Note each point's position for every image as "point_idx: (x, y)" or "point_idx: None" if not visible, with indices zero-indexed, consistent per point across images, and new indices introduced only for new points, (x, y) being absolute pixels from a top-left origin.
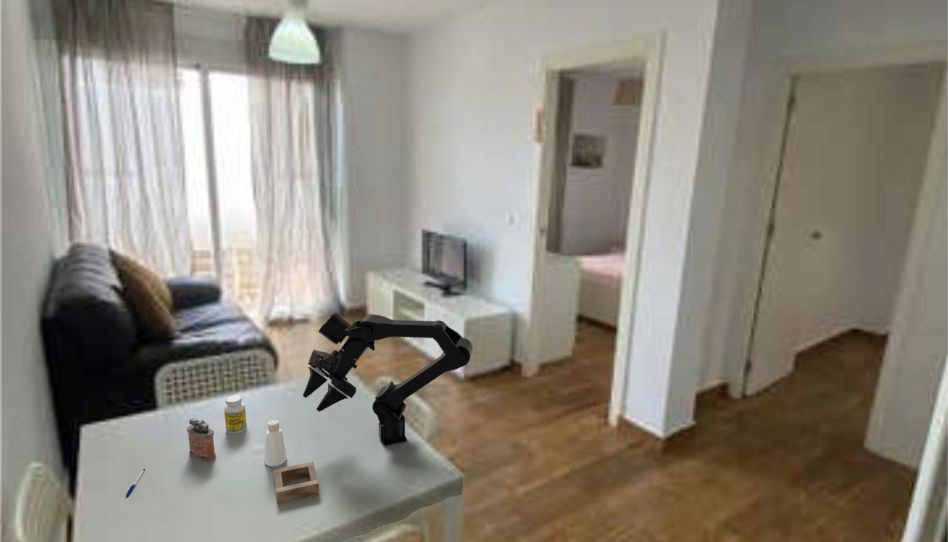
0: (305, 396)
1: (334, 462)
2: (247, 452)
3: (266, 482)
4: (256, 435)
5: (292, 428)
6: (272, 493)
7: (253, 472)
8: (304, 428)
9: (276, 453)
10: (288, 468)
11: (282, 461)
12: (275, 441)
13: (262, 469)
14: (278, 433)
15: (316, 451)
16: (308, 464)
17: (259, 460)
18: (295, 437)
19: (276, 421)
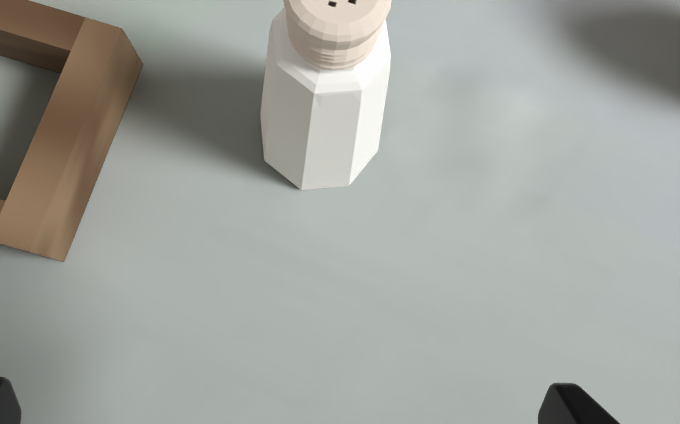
0: (547, 417)
1: (71, 412)
2: (493, 49)
3: (157, 28)
4: (644, 145)
5: (618, 350)
6: None
7: None
8: None
9: (263, 91)
10: (71, 97)
11: (263, 147)
12: (267, 51)
13: None
14: (276, 54)
15: (265, 368)
16: (21, 211)
17: None
18: (500, 323)
19: (333, 12)
